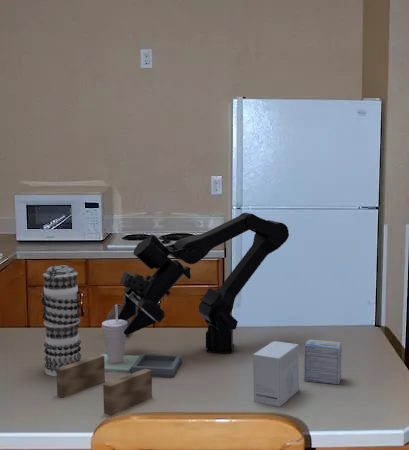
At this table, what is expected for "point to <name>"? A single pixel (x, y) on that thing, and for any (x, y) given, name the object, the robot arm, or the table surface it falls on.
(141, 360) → the tray
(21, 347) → the table surface
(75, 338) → the decorative candle
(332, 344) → the medicine box
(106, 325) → the smoothie
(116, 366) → the mat
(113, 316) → the vase
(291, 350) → the skincare box
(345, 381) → the table surface
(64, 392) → the lane
